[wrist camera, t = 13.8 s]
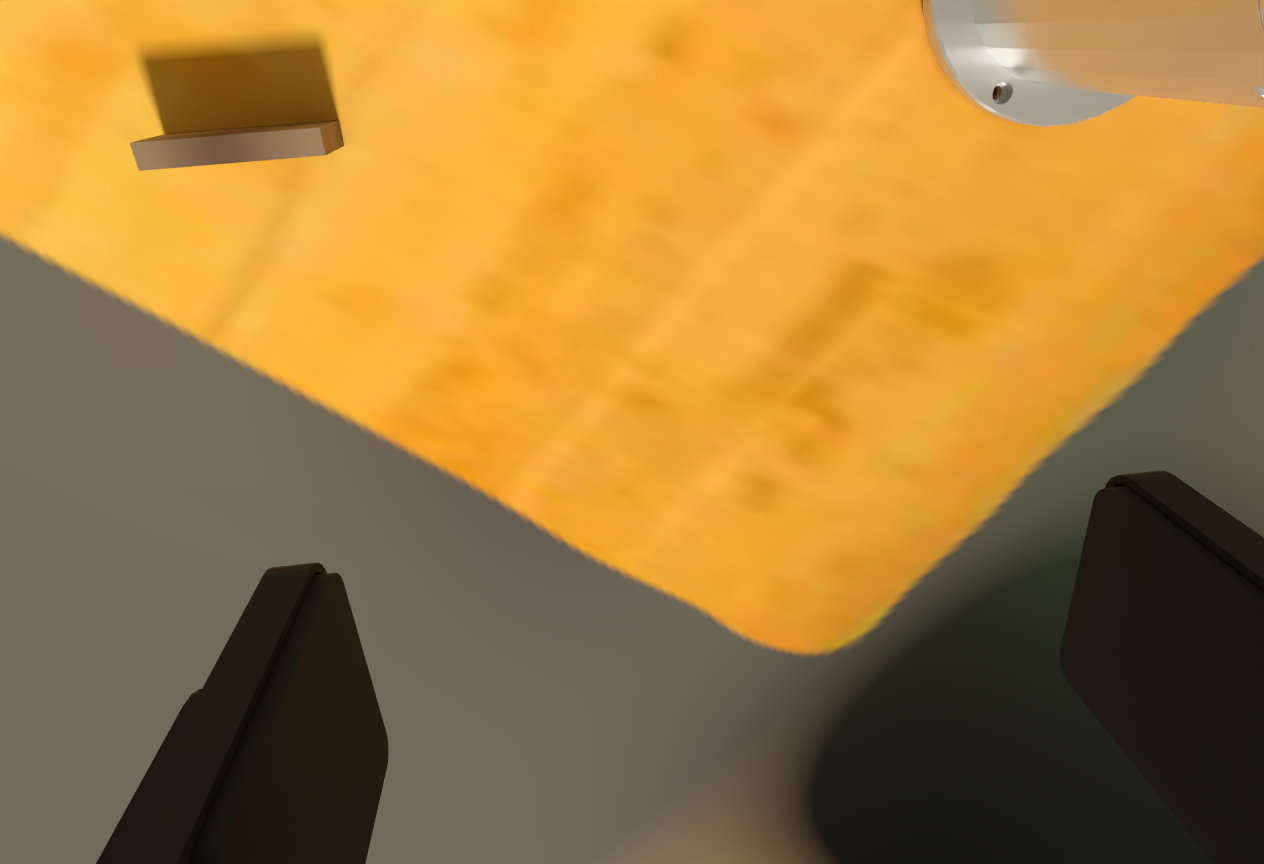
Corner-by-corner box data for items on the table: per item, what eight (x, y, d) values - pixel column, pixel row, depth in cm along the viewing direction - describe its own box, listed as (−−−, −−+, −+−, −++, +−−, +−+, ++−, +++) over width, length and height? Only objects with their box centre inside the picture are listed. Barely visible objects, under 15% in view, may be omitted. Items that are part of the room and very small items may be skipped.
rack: (283, -132, 29) (255, -150, 26) (343, 145, 33) (325, 155, 31) (85, -119, 29) (37, -136, 26) (172, 160, 33) (139, 170, 30)
